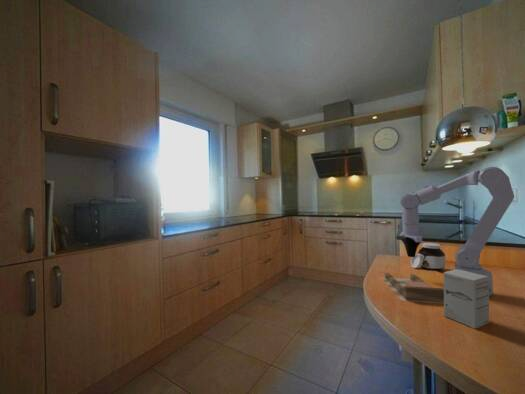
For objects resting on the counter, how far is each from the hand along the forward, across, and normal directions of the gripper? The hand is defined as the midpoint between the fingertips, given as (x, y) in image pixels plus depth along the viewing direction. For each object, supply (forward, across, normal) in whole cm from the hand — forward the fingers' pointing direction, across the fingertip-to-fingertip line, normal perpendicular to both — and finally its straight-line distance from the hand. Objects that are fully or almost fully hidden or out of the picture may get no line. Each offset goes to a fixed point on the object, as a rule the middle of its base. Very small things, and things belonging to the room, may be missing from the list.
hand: (411, 256), depth 94 cm
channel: (+9, +11, -5) cm, 16 cm away
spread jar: (+10, -16, +13) cm, 23 cm away
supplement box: (+10, +32, +1) cm, 33 cm away
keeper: (+9, +19, -6) cm, 21 cm away
